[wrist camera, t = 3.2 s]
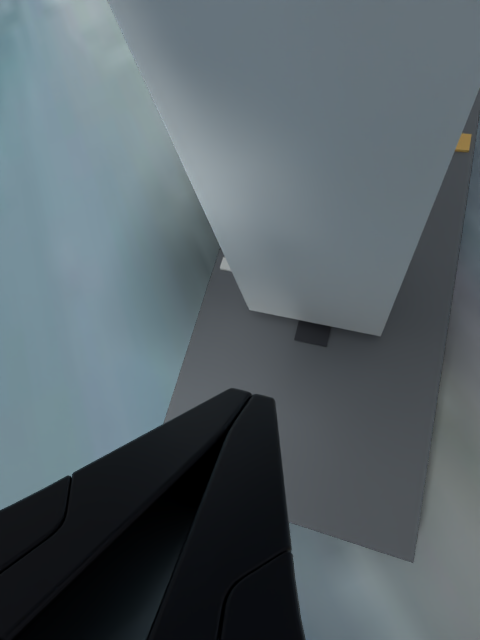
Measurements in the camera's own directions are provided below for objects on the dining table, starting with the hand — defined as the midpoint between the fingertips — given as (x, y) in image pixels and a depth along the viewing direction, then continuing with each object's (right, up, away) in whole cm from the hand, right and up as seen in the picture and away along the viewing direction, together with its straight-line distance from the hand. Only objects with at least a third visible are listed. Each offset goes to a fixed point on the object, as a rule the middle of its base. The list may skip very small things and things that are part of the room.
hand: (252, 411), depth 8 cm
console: (+4, +5, +10) cm, 12 cm away
